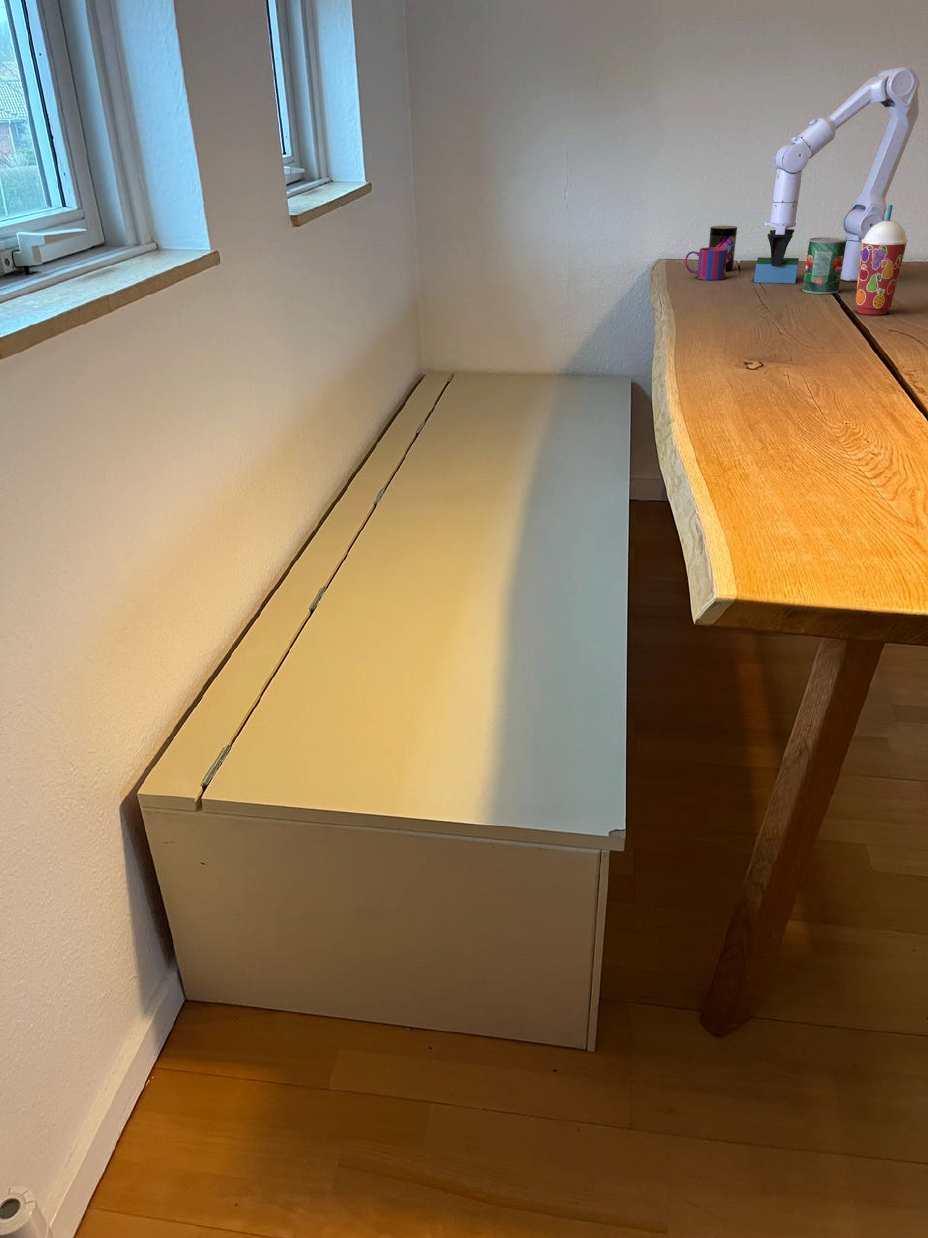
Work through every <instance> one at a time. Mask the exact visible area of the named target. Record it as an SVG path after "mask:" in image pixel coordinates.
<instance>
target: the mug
mask: <svg viewBox="0 0 928 1238" xmlns="http://www.w3.org/2000/svg"><path fill="white" fill-rule="evenodd" d="M727 251H728V249H727V248H719V247H709V246H707V247H701V248H699V251H695V250H694V251H689V252H688V253H687V254H686V255H685V258H684V266H685V268H686V270H687V271H688V272H689V273H691V274H694V275H696V278H697V279H699V280H703V281H720V280H725V278H726V271H725V270H726V261H727ZM691 254H695V255H696V256H698V260H697V261H698V262H697V270H692V269H691V268H689V266H688V258H689V256H690V255H691Z"/></svg>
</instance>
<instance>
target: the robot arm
mask: <svg viewBox="0 0 928 1238" xmlns="http://www.w3.org/2000/svg"><path fill="white" fill-rule="evenodd" d="M920 84H921V82H920V79H919V78H918V76H917V74H916V72H915V70H913V68H911V67H909V66H900V67H896V68H895V67H894V68H890V67H889V68H888V67H886V68H883V69H881V70H880V71H878V72H877V73H876V74H875V76H871V77H870V78H869V79H867V80H866V81H865V82H864V83H863V84H862V85H861V86H860V87H859V88H858V89H857V90H856V91H855V92H853V94H852V95H850V96H849V97H848V98H847V99H846V100H845V101H844V102H843V103H841V104H840V105H839V107H837V108H836V109H835V110H834V111H833V112H832V113H831V114H830V115H829V116H828V117H818V118H817V119H812V120H810V121H809V122H808V127H806V128H805V129H804V130H803V131H802V132H800V133H799V134H798V135H797V136H793V137H792V138H791V139H790V141H791V143H790V144H785V145H783V146H782V147H780V148H779V149H778V151H777V152H776V153H777V154H775V157H773V164H774V167H775V169H776V175H775V180H774V187H773V196H772V202H771V203H772V204H771V212H770V219H769V221H765V222H764V226H765V227H770V228H773V229H770V230H769V233H767V240H768V243H769V248H770V258H771V264H772V266H781V264H782V262H783V258H785V255H786V253H787V249H788V245H789V244H790V242H791V240H792V239H793V236H794V235H793V234H794V233H795V229H794V228H795V227H796V225H797V222H796V219H797V213H798V206H799V198H800V191H801V183H802V174H803V170H804V169H805V168H806V167H807V165H808V163H809V160H811V159H812V158H813V157H814V156H815V155H816V154H818V153H819V152H820V151H822V149H824V148H825V147H826V146H828V144H830V143H831V142H832V141H833V140H834V139H835V137H836V132H837V130H838V129H839V128H840V127H842V126H843V125H844V124H846V123H847V122H848V121H849V120H850V119H852V118H853V117H854V116H856V115H857V114H858V113H860V112H861V111H862V110H863V109H864V108H866V107H867V106H868V105H873V104H876V103H880V104H881V105H882V106H883V107H884V109H885V110H886V112H887V114H888V116H889V121H888V124H887V127H886V130H885V132H884V135H883V137H882V140H881V143H880V145H879V147H878V150H877V153H876V155H875V159H874V161H873V163H872V166H871V168H870V171H869V174H868V176H867V179H866V181H865V184H864V187H863V189H862V192H861V193H860V195H859V196H857V198H856V199H855V200H854V201H853V204H852V206H851V208H850V209H849V210H848V211H847V213H846V214H845V215H844V217H843V221H842V228H843V230H844V232H845V235H844V239H846V240H847V241H846V248H845V254H844V260H843V266H842V272H841V279H840V280H842V281H845V282H858V274H859V265H860V256H861V246H862V239H864V237H865V235H866V234H867V232H868V231H869V230H870V229H871V228H872V227H873V226H874V225H875V224H877V223H879V222H882V221H885V214H886V211H887V210H888V208H887V206H888V205H887V201H886V197H887V195H888V192H889V189H890V187H891V185H892V182H893V179H894V177H895V175H896V172H897V169H898V167H899V164H900V162H901V159H902V157H903V154H904V152H905V149H906V147H907V144H908V141H909V139H910V137H911V134H912V132H913V129H914V127H915V124H916V122H917V120H918V115H919V88H920Z"/></svg>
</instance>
